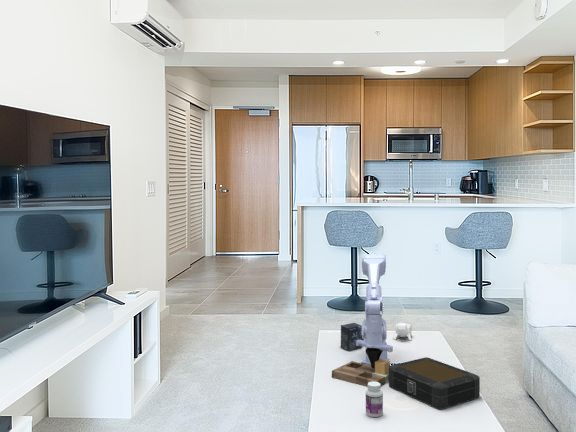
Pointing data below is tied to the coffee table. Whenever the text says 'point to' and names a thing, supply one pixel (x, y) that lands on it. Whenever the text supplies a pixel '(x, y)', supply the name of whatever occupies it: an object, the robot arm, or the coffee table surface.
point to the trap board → (359, 374)
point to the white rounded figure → (403, 331)
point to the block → (382, 366)
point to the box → (350, 336)
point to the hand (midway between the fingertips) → (374, 367)
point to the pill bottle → (374, 400)
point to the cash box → (434, 382)
